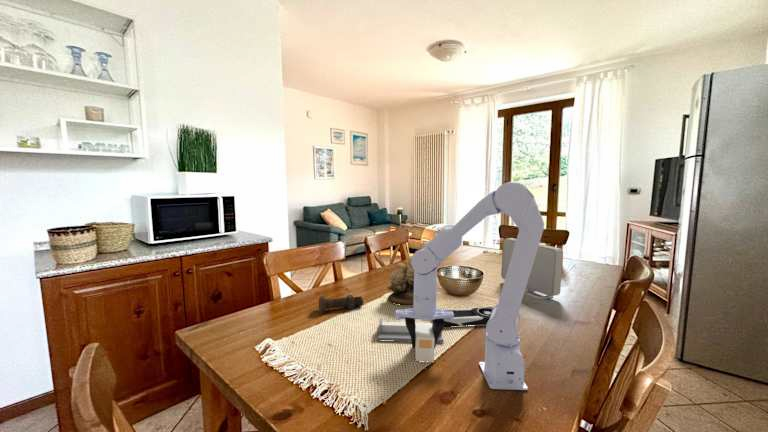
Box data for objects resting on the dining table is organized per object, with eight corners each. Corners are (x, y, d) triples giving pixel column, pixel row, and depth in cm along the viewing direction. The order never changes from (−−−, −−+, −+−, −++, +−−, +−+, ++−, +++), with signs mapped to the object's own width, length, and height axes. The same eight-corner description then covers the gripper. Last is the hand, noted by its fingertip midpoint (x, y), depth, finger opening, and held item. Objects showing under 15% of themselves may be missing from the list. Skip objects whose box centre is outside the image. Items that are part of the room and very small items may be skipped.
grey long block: (443, 343, 85) (443, 330, 85) (377, 341, 86) (378, 329, 85) (438, 327, 94) (438, 316, 94) (379, 326, 95) (379, 315, 94)
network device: (497, 282, 138) (499, 238, 136) (511, 280, 142) (514, 237, 140) (548, 303, 115) (552, 250, 113) (564, 299, 119) (568, 248, 116)
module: (433, 363, 76) (434, 338, 75) (415, 362, 76) (416, 338, 75) (429, 345, 84) (430, 323, 83) (413, 345, 84) (414, 322, 83)
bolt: (362, 312, 110) (319, 316, 104) (359, 300, 113) (317, 304, 108) (365, 301, 106) (321, 305, 101) (362, 289, 110) (319, 293, 105)
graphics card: (429, 307, 102) (500, 304, 106) (428, 317, 103) (500, 314, 106) (438, 321, 93) (516, 317, 96) (438, 331, 93) (516, 327, 96)
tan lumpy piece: (426, 292, 125) (428, 250, 123) (439, 303, 114) (442, 258, 112) (383, 295, 120) (384, 252, 118) (393, 308, 109) (394, 260, 107)
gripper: (396, 300, 75) (395, 354, 76) (457, 302, 74) (454, 355, 76) (396, 290, 82) (395, 339, 83) (451, 291, 81) (449, 341, 83)
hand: (423, 346), depth 80 cm, fingers closed on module, 4 cm apart
